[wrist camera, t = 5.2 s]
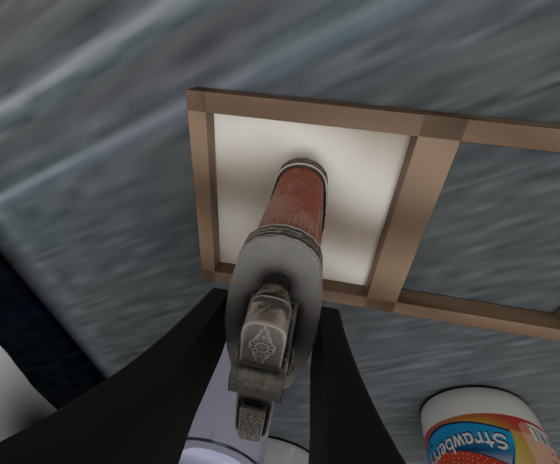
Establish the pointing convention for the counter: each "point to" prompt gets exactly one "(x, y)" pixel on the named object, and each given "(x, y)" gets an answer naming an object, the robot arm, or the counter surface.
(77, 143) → the counter surface
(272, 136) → the tray
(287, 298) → the lighter
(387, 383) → the counter surface
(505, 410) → the fruit juice
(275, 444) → the utensil holder
